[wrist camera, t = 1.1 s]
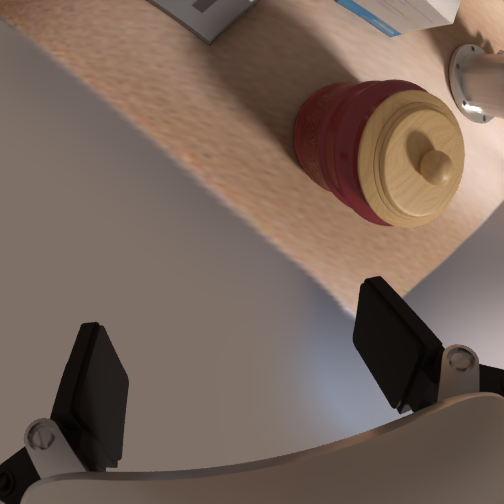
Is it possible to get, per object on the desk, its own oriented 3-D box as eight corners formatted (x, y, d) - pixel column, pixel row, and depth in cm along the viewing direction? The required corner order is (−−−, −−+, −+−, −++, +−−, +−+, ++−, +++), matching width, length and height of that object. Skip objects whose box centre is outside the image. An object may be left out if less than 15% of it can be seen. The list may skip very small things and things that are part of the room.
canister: (365, 68, 30) (478, 62, 14) (400, 162, 36) (503, 209, 20) (269, 110, 31) (342, 118, 15) (317, 208, 37) (398, 286, 21)
